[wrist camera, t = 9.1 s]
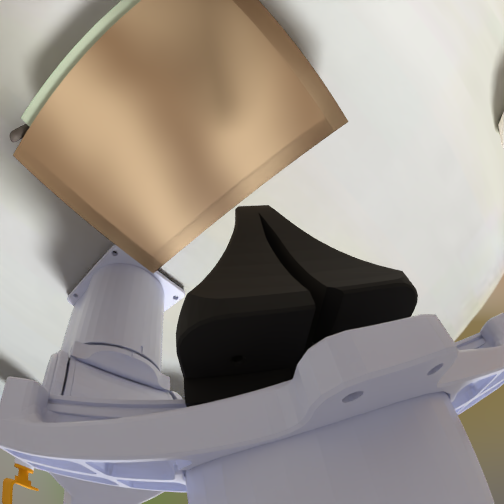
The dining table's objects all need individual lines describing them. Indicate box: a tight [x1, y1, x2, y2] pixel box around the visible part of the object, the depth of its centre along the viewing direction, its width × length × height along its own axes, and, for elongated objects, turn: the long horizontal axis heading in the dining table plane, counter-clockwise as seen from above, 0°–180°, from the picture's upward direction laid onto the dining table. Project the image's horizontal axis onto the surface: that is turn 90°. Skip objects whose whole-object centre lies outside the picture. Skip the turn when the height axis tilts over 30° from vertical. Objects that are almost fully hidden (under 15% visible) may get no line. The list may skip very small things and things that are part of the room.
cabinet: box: [10, 0, 348, 273], centre depth 15 cm, size 15×13×5 cm
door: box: [21, 0, 141, 127], centre depth 12 cm, size 13×1×5 cm, turn 127°
